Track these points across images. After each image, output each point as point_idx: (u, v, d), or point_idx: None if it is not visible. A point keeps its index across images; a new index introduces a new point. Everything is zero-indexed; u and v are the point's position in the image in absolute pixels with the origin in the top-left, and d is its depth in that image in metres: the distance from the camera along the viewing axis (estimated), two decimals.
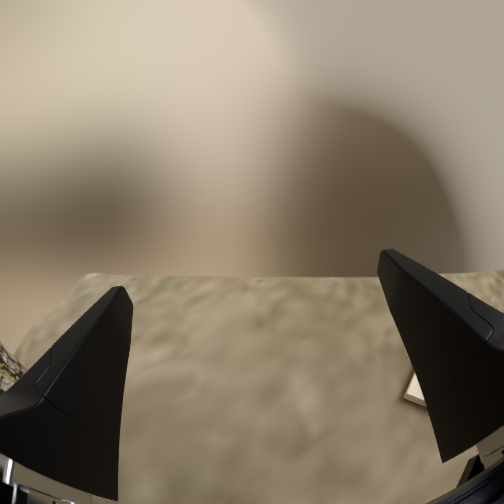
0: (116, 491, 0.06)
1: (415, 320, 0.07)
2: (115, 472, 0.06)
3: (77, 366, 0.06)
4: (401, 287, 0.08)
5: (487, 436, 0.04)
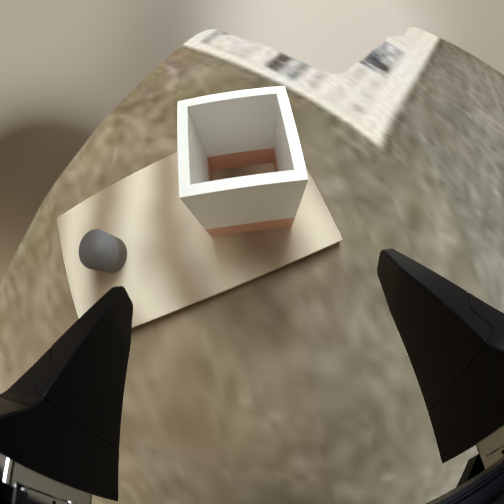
0: (116, 491, 0.06)
1: (415, 320, 0.07)
2: (115, 472, 0.06)
3: (77, 366, 0.06)
4: (401, 287, 0.08)
5: (487, 436, 0.04)
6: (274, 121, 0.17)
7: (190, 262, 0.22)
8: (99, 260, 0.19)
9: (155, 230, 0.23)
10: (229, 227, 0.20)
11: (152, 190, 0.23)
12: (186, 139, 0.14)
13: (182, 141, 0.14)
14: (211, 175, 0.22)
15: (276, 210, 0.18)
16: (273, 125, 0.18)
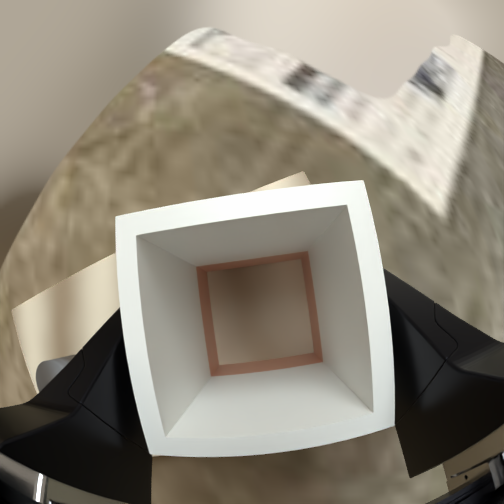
0: (149, 497, 0.05)
1: None
2: (148, 478, 0.06)
3: (114, 368, 0.06)
4: None
5: (451, 458, 0.04)
6: (322, 233, 0.09)
7: None
8: None
9: None
10: None
11: None
12: (141, 335, 0.06)
13: (133, 338, 0.06)
14: (205, 286, 0.14)
15: None
16: (317, 236, 0.10)
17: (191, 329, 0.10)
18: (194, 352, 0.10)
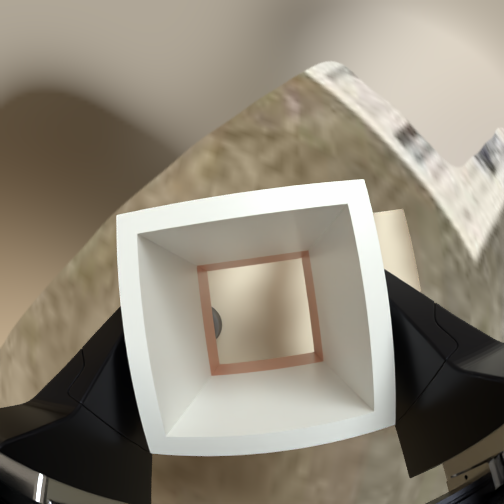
0: (149, 497, 0.05)
1: None
2: (148, 478, 0.06)
3: (114, 368, 0.06)
4: None
5: (451, 458, 0.04)
6: (322, 232, 0.09)
7: (292, 354, 0.21)
8: None
9: (260, 312, 0.21)
10: None
11: None
12: (141, 333, 0.06)
13: (134, 337, 0.06)
14: (205, 286, 0.14)
15: None
16: (318, 235, 0.10)
17: (192, 328, 0.10)
18: (195, 351, 0.10)
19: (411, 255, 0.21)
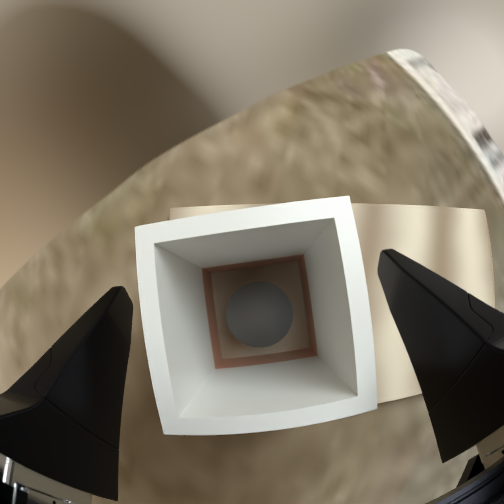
0: (116, 491, 0.06)
1: (415, 320, 0.07)
2: (115, 472, 0.06)
3: (77, 366, 0.06)
4: (401, 287, 0.08)
5: (487, 436, 0.04)
6: (315, 239, 0.11)
7: None
8: (265, 337, 0.13)
9: None
10: None
11: None
12: (159, 328, 0.07)
13: (152, 331, 0.07)
14: (209, 286, 0.16)
15: None
16: (311, 242, 0.11)
17: (198, 325, 0.12)
18: (201, 346, 0.11)
19: (490, 260, 0.16)
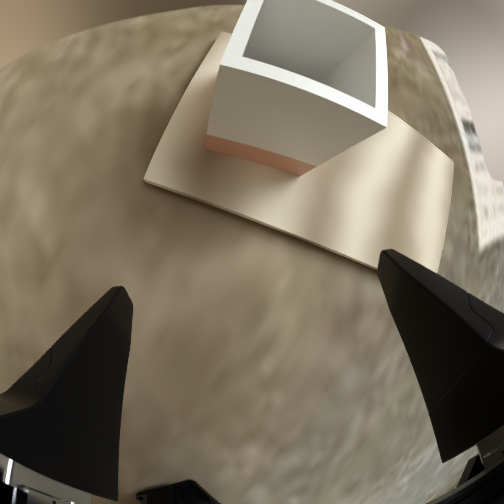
0: (116, 491, 0.06)
1: (415, 320, 0.07)
2: (115, 472, 0.06)
3: (77, 366, 0.06)
4: (401, 287, 0.08)
5: (487, 436, 0.04)
6: (346, 56, 0.12)
7: (336, 203, 0.18)
8: None
9: None
10: (235, 143, 0.15)
11: None
12: (256, 11, 0.08)
13: (250, 10, 0.08)
14: None
15: (309, 146, 0.13)
16: (341, 59, 0.12)
17: None
18: None
19: (449, 198, 0.21)
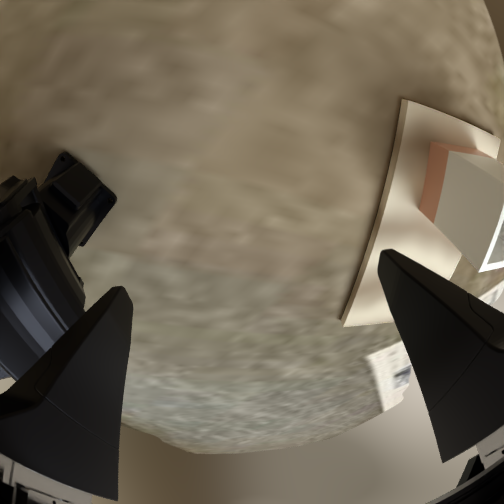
0: (116, 491, 0.06)
1: (415, 320, 0.07)
2: (115, 472, 0.06)
3: (77, 366, 0.06)
4: (401, 287, 0.08)
5: (487, 436, 0.04)
6: (500, 236, 0.17)
7: (403, 238, 0.23)
8: None
9: None
10: (443, 169, 0.17)
11: None
12: None
13: None
14: None
15: (452, 221, 0.17)
16: None
17: None
18: None
19: None
